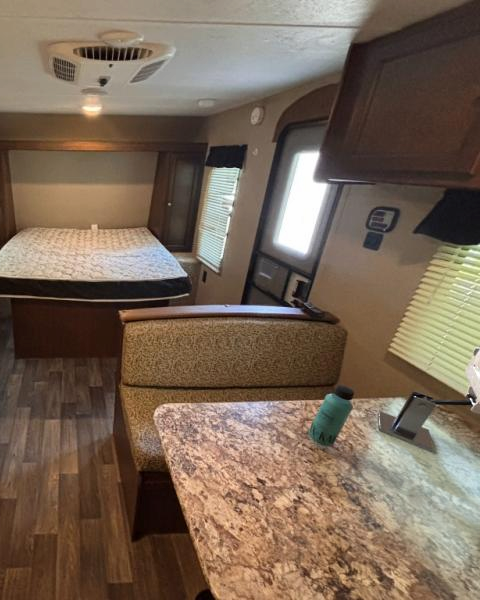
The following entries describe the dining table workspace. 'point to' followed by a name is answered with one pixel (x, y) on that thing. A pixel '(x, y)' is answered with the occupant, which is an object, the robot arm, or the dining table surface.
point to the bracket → (410, 421)
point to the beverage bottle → (332, 416)
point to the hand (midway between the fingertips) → (471, 405)
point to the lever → (451, 401)
